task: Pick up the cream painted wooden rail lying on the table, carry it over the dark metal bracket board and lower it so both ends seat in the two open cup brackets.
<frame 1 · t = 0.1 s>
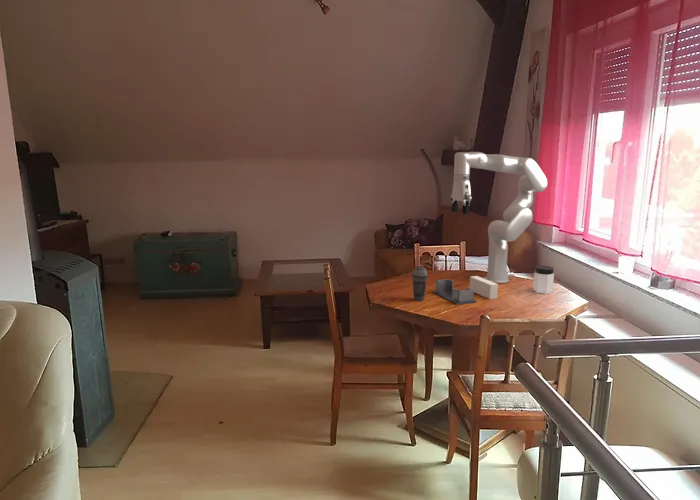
hand: (460, 212, 261), 37 cm above the table, tool pointing down, fingers open, 9 cm apart
beverage cup: (419, 300, 241), on the table
jar: (542, 291, 255), on the table
rail: (482, 294, 251), on the table
bracket board: (453, 297, 245), on the table
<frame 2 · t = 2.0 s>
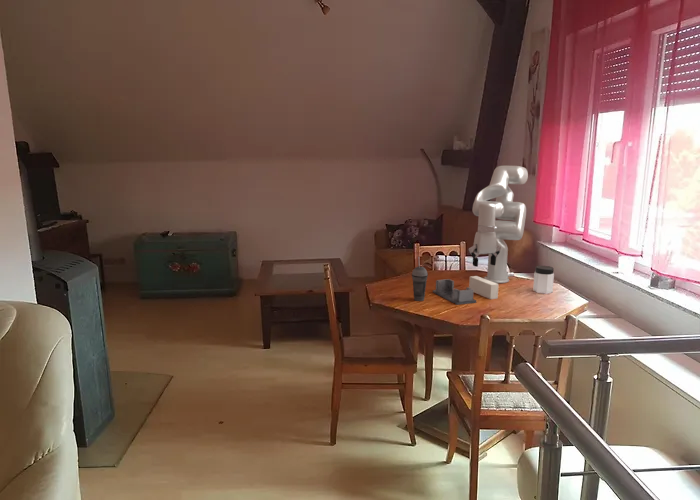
hand: (484, 265, 247), 14 cm above the table, tool pointing down, fingers open, 9 cm apart
nothing on the table moved.
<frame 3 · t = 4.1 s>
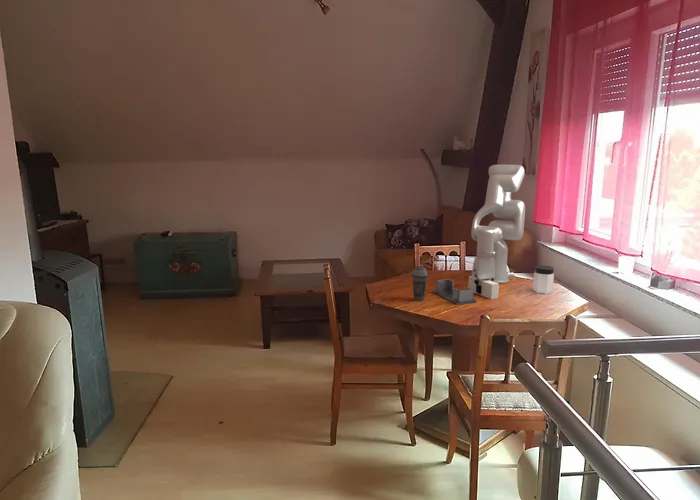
hand: (482, 292, 250), 1 cm above the table, tool pointing down, fingers closed on rail, 4 cm apart
rail: (482, 294, 251), on the table, touching gripper
everything else where it was.
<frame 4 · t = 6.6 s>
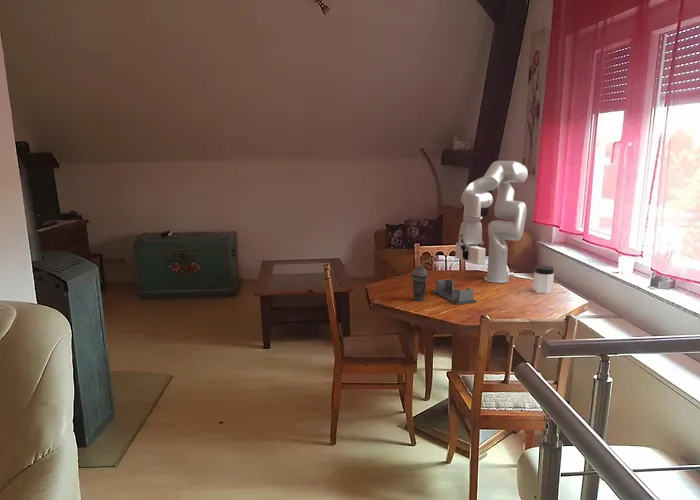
hand: (469, 258, 244), 18 cm above the table, tool pointing down, fingers closed on rail, 4 cm apart
rail: (469, 260, 244), point 17 cm above the table, touching gripper
everything else where it was.
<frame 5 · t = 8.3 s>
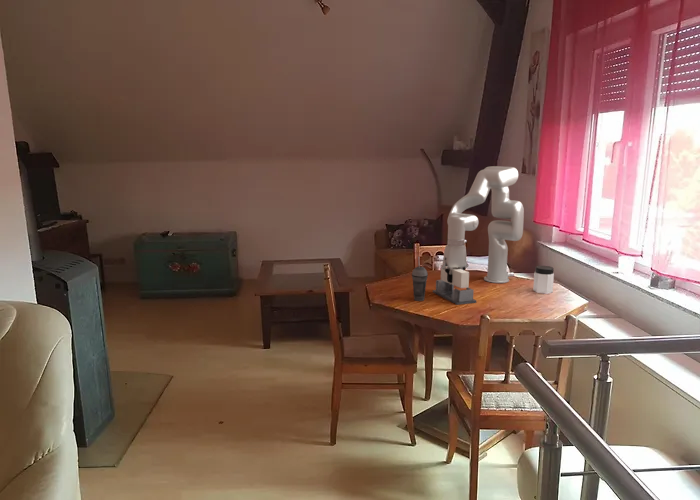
hand: (454, 281, 244), 8 cm above the table, tool pointing down, fingers closed on rail, 4 cm apart
rail: (454, 283, 244), point 7 cm above the table, touching gripper
everything else where it was.
when the fingers open (3 cm above the table, at t = 9.4 s): rail drops 1 cm, resting on bracket board.
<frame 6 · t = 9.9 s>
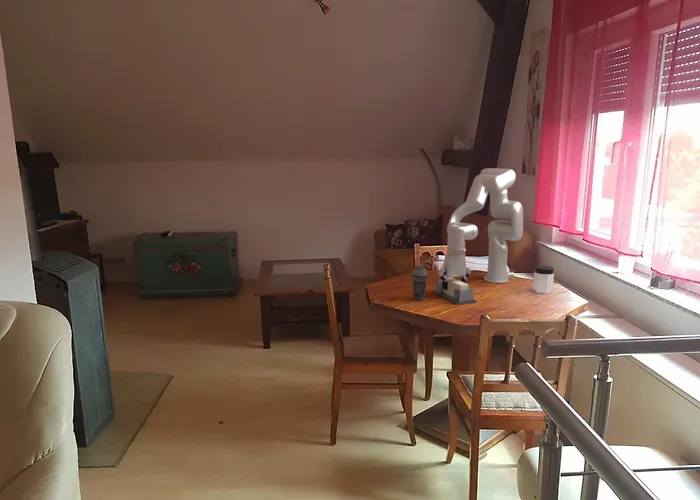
hand: (454, 288, 244), 4 cm above the table, tool pointing down, fingers open, 9 cm apart
rail: (453, 295, 245), point 1 cm above the table, touching bracket board
everything else where it was.
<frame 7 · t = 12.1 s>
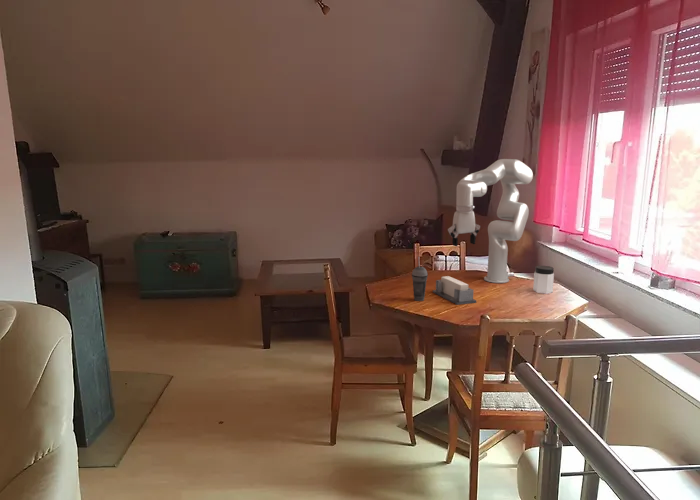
hand: (463, 244, 250), 23 cm above the table, tool pointing down, fingers open, 9 cm apart
nothing on the table moved.
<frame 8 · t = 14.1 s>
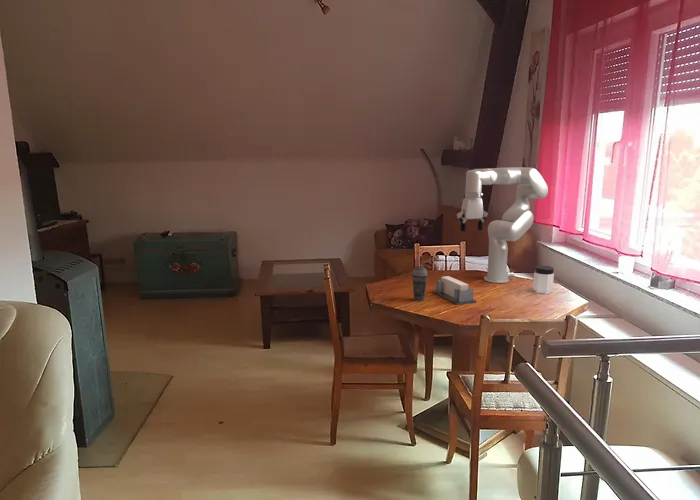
hand: (471, 230, 260), 28 cm above the table, tool pointing down, fingers open, 9 cm apart
nothing on the table moved.
at the end: rail 0.1 cm off-centre on the bracket board, point 1.0 cm above the bracket board's base; rail tilted 0°; the gripper is holding nothing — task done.
